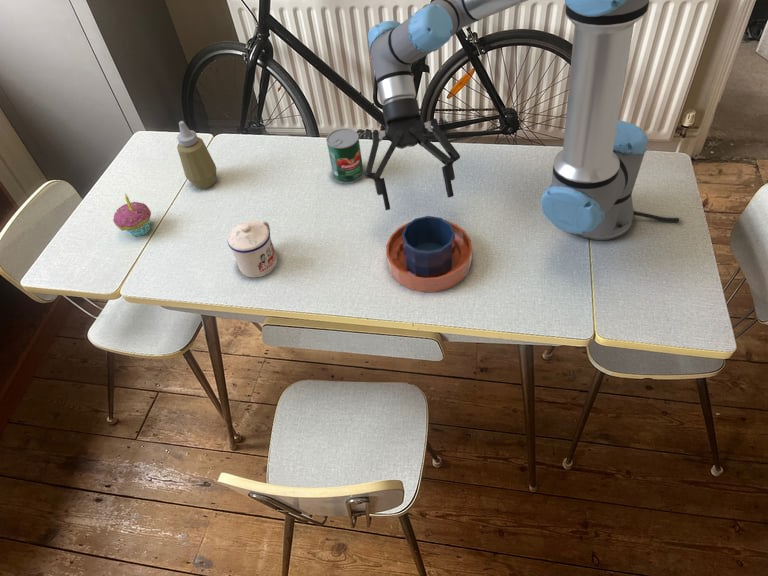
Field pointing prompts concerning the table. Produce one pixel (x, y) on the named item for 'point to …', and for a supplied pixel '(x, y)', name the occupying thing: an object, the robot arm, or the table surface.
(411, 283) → the lower bowl
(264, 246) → the teacup with lid
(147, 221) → the cupcake
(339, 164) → the canned tomato
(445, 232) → the blue faceted pot
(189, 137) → the squeeze bottle
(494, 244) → the table surface
